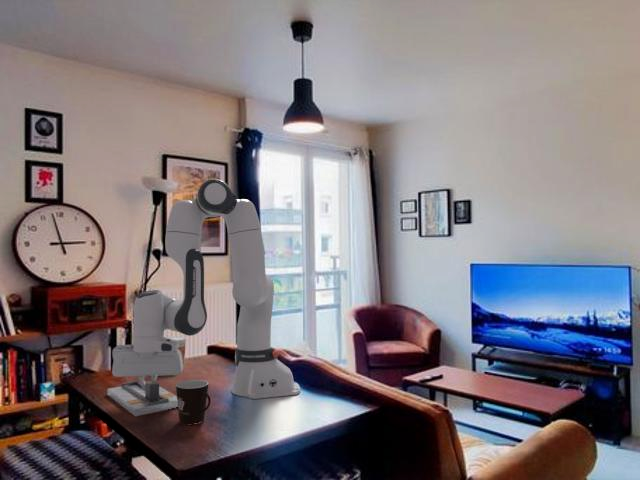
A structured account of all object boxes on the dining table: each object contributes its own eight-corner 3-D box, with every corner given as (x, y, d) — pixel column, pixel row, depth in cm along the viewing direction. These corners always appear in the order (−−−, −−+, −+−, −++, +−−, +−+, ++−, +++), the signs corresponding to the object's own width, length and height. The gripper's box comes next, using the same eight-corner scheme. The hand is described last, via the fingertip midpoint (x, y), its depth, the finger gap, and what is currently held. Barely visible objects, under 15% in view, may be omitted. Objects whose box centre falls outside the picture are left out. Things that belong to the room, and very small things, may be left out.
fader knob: (145, 397, 146) (145, 382, 146) (154, 396, 148) (154, 381, 148) (149, 400, 143) (149, 385, 144) (159, 398, 145) (159, 383, 145)
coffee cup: (171, 373, 184) (172, 341, 184) (155, 370, 189) (155, 339, 190) (190, 368, 192) (191, 338, 192) (174, 365, 197) (175, 335, 197)
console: (107, 394, 157) (107, 385, 157) (150, 387, 165) (150, 378, 166) (135, 416, 136) (135, 405, 137) (183, 406, 145) (183, 396, 145)
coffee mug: (173, 418, 135) (173, 381, 135) (205, 414, 139) (205, 378, 139) (179, 432, 125) (179, 393, 125) (213, 427, 128) (213, 389, 128)
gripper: (109, 347, 144) (108, 394, 144) (181, 345, 147) (180, 391, 147) (115, 343, 151) (114, 388, 150) (183, 341, 153) (183, 386, 153)
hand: (147, 390), depth 149 cm, fingers closed
